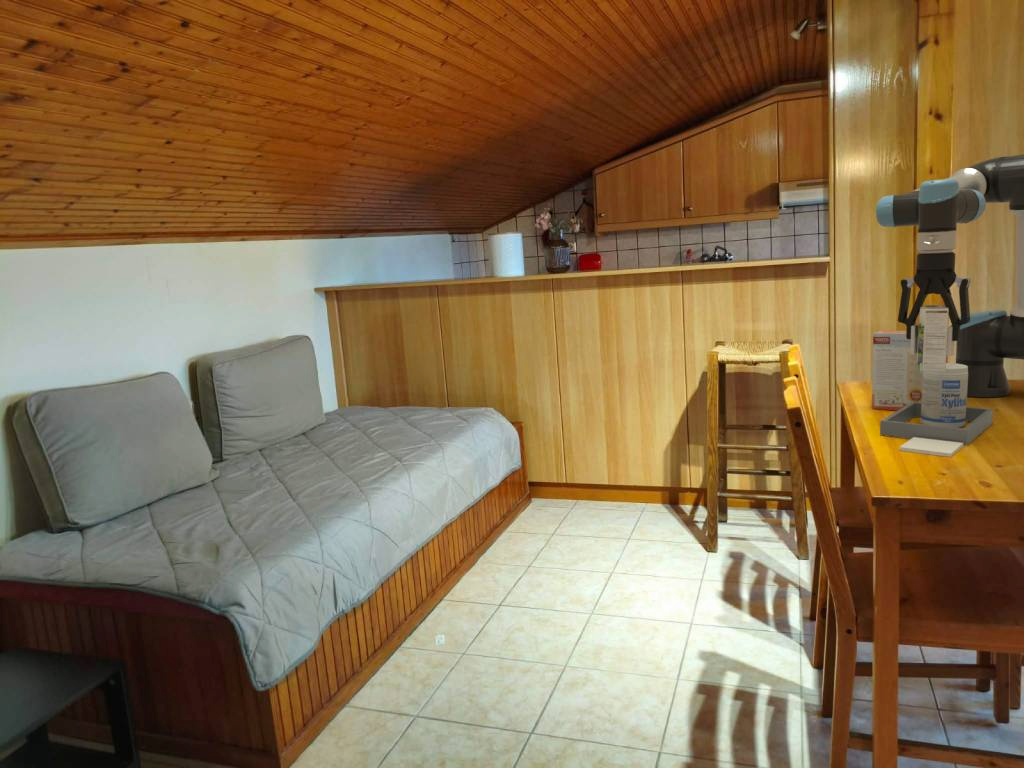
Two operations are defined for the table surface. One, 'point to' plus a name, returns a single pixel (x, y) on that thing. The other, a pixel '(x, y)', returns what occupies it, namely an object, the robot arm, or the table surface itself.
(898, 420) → the bin
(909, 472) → the table surface
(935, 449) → the board
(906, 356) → the cracker box
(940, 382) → the supplement tub
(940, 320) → the syrup box
